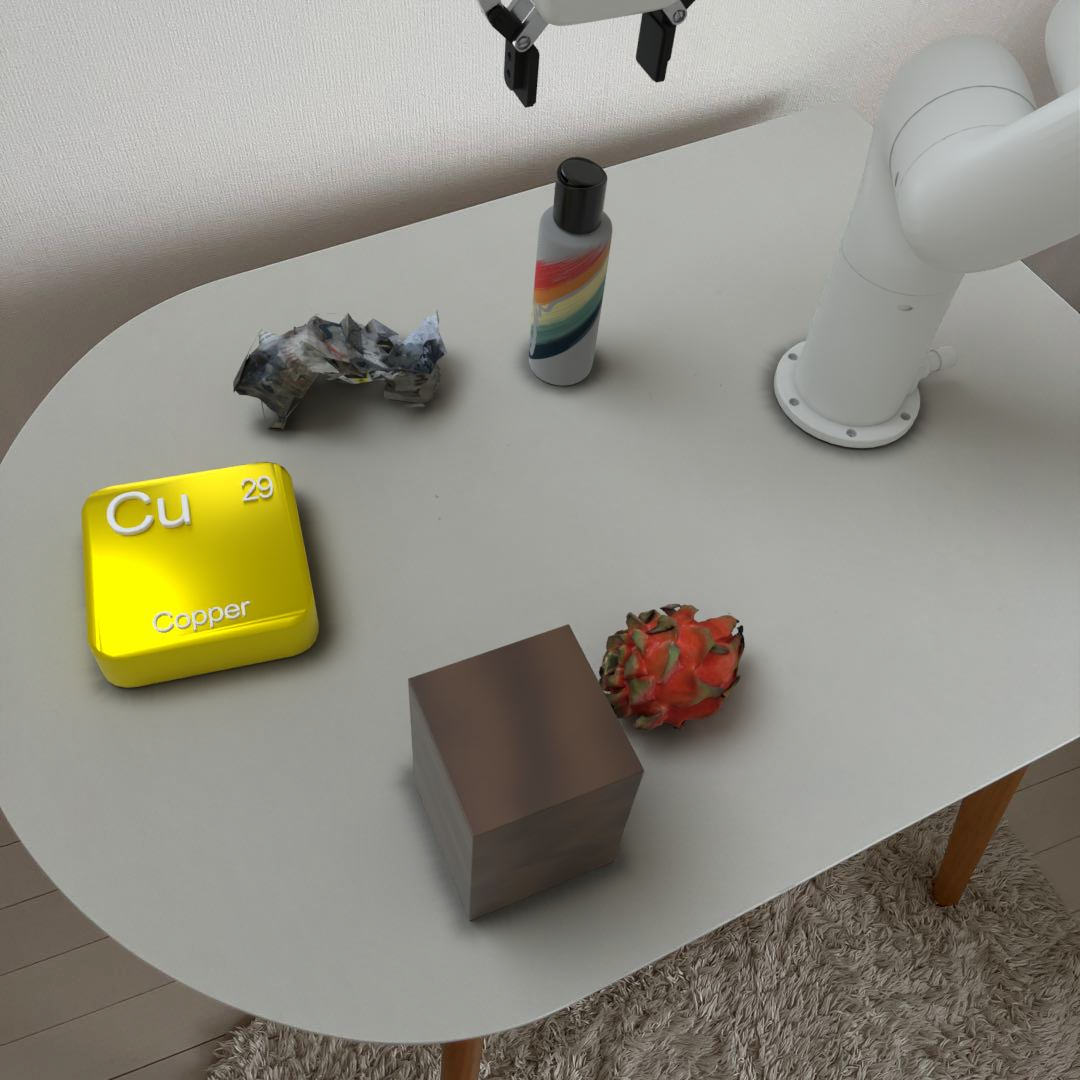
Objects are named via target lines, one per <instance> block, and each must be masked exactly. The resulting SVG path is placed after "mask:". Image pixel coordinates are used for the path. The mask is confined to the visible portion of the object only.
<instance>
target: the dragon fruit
mask: <svg viewBox="0 0 1080 1080" xmlns="http://www.w3.org/2000/svg"><path fill="white" fill-rule="evenodd" d="M676 608H677V609H676ZM659 609H660V610H661V611H662V612H664V613H665V614H661V613H660V612H659V611H657V609H650V610H648V611H641V612H640V613H639V614H638V616H637V615H635V613H633V612H631V611H629V612H627V614H626V616H625V618H626V619H625V624H626V626H627V629H625V630H624V629H620V630H617V631H615V632H614V633H613V634H612V635H608V637H607V639H606V644H605V650H606V651H605V653H604V654H603V657H602V663H601V666H600V667H599V670H598V673H599V674H598V675H599V677H600V678H599V679H598V681H599V683H600V685H601V687H602V689H603V691H604V693H605V695H606V697H607V699H608V701H609V703H610V705H611V707H612V709H613V710H614V712H615V714H616V716H617V718H618V719H622V720H623V719H629V718H632V717H633V716H634V715H636V716H638V717H637V719H635V720H634V721H633V722H632V724H633V727H634V729H636V730H639V731H645V732H649V731H651V730H653V729H654V728H656V727H659V726H662V725H663V723H665V724H669V725H672V728H673V729H674V730H678V731H682V730H683V729H684V728H685V727H686V723H687V720H703V719H705V718H709V717H711V716H713V715H714V714H716V713H717V712H718V711H720V709H721V708H722V707H723V706H724V704H725V701H726V700H727V699H728V697H729V695H730V694H731V693H732V691H733V689H734V688H735V687H736V686H737V685H738V684H739V681H740V680H741V675H738V672H739V665H740V661H741V659H742V656H743V654H744V651H745V648H746V646H745V645H746V643H745V636H744V634H743V633H744V626H743V624H741V625H739V626H737V624H739V623H740V620H739V619H737V618H736V617H734V616H733V615H732V613H730V612H729V611H726V613H728V614H725V615H721V616H718V617H711V618H708V619H706V620H701V621H697V620H696V619H695V615H696V614H697V613H698V612H699V611H700V609H699V608H697V607H696V606H694V605H692V604H682V605H681V604H680V603H668V604H667V605H664V606H661V607H659ZM723 612H724V611H723ZM734 629H737V633H736V634H733V631H734ZM609 692H610V693H609Z"/></svg>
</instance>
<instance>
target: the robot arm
mask: <svg viewBox="0 0 1080 1080" xmlns="http://www.w3.org/2000/svg"><path fill="white" fill-rule="evenodd" d="M475 1H476V3H477V5H478V6H479V8H480V11H481V13H482V15H483V16H484V17H485V19H486V20H487V21H488V23H489V25H491V27H492V28H493V29H494V30H495V31H497V32H498V33H499V34H500V35H501V36H502V37H503V38H504V42H505V43H504V59H503V79H504V83H505V85H506V87H507V88H508V90H510V91H511V92H513V93H514V95H515V96H516V97H517V99H518V100H519V102H520V103H521V105H522V106H523V107H524V109H525V108H531V107H534V105H535V104H536V103H537V97H538V96H537V95H538V83H539V69H540V51H539V49H538V47H536V45H535V42H536V41H537V40H538V38H539V37H540V36H541V35H542V33H543V32H544V31H545V30H546V28H547V27H548V26H549V25H552V26H557V27H565V26H567V27H568V26H574V25H575V26H576V25H581V24H588V23H594V22H599V21H606V20H612V19H617V18H624V17H630V16H634V15H641V20H640V25H639V31H638V37H637V38H638V40H637V46H636V52H635V60H636V63H637V64H638V66H640V67H641V69H642V70H643V71H644V72H645V73H646V74H647V75H648V77H649V78H650V79H651V80H652V82H655V84H656V83H661V82H664V81H665V80H666V76H667V75H666V74H667V70H668V64H669V61H670V60H671V58H672V53H673V47H674V43H675V37H676V31H677V27H678V26H679V25H681V24H682V23H684V21H685V20H686V19H687V17H688V9H689V8H690V7H691V6H692V5H693V4H694V2H696V0H511V1H510V3H509V5H507V7H506V6H505V5H504V3H502V0H475ZM1044 32H1045V33H1044V49H1045V57H1046V61H1047V65H1048V68H1049V72H1050V75H1051V79H1052V81H1053V84H1054V88H1055V91H1056V94H1057V98H1056V99H1054V100H1052V101H1050V102H1049V103H1046V104H1045V105H1043V106H1041V107H1040V108H1038V106H1037V103H1036V100H1035V97H1034V94H1033V91H1032V88H1031V85H1030V82H1029V80H1028V77H1027V75H1026V74H1025V71H1024V69H1023V68H1022V67H1021V65H1020V64H1019V62H1018V60H1017V59H1016V58H1015V56H1013V54H1012V53H1011V52H1010V51H1009V50H1008V49H1006V48H1005V47H1004V46H1003V45H1002V44H1000V43H998V42H997V41H995V40H992V39H990V38H988V37H985V36H982V35H978V34H977V35H976V34H964V33H961V34H960V33H959V34H951V35H948V36H944V37H941V38H939V39H936V40H933V41H932V42H931V41H930V42H929V43H928V44H926V45H924V46H922V47H921V48H920V49H918V50H917V51H916V52H915V53H913V54H912V55H911V56H910V57H908V59H906V61H904V62H903V64H902V65H901V66H900V67H899V69H898V70H897V71H896V72H895V74H894V75H893V77H892V79H891V80H890V82H889V84H888V86H887V88H886V90H885V92H884V94H883V96H882V98H881V101H880V104H879V107H878V110H877V114H876V117H875V121H874V124H873V129H872V132H871V137H870V142H869V147H868V150H867V155H866V160H865V164H864V168H863V172H862V176H861V180H860V182H859V187H858V190H857V194H856V197H855V200H854V203H853V205H852V206H853V207H852V209H851V212H850V214H849V218H848V221H847V224H846V227H845V229H844V231H843V235H842V238H841V240H840V243H839V246H838V249H837V252H836V254H835V257H834V260H833V262H832V266H831V269H830V272H829V274H828V277H827V280H826V283H825V286H824V289H823V291H822V294H821V297H820V300H819V301H818V302H819V303H818V304H817V308H816V311H815V314H814V317H813V319H812V322H811V325H810V328H809V331H808V334H807V336H806V339H805V340H803V341H801V342H800V341H799V342H798V343H796V344H795V345H793V346H792V347H790V348H789V349H788V350H787V351H786V352H785V353H784V354H783V355H782V357H781V358H780V360H779V362H778V363H777V367H776V369H775V372H774V377H773V388H774V389H773V391H774V396H775V398H776V399H777V402H778V405H779V406H780V407H781V409H782V412H784V414H785V415H786V416H787V417H788V418H789V419H790V420H791V421H792V423H793V424H795V425H796V426H797V427H799V428H800V429H802V430H803V431H804V432H806V433H808V434H809V435H811V436H813V437H814V438H817V439H819V440H821V441H824V442H826V443H830V444H832V445H836V446H841V447H844V448H852V449H853V448H854V449H865V448H866V449H868V448H869V449H870V448H877V447H881V446H885V445H888V444H890V443H893V442H896V441H897V440H898V439H900V438H902V437H903V436H904V435H906V434H907V432H908V431H909V430H910V429H911V427H912V426H913V424H914V423H915V421H916V419H917V417H918V414H919V411H920V408H921V393H920V390H919V387H918V385H919V382H920V380H924V379H926V378H928V376H929V375H930V373H932V372H939V371H943V370H946V369H950V368H953V367H954V366H957V363H958V360H959V359H958V357H959V356H958V353H957V350H956V349H955V347H954V346H952V345H949V344H948V345H944V346H941V347H937V348H934V349H930V347H931V345H932V343H933V340H934V338H935V336H936V334H937V333H938V330H939V328H940V326H941V324H942V322H943V320H944V318H945V315H946V314H947V312H948V309H949V307H950V306H951V303H952V300H953V299H954V297H955V295H956V293H957V292H958V291H957V290H958V288H959V287H960V284H961V283H962V280H963V279H964V277H965V275H966V274H975V273H982V272H986V271H991V270H995V269H998V268H1002V267H1005V266H1008V265H1011V264H1013V263H1016V262H1018V261H1022V260H1023V259H1026V258H1028V257H1031V256H1033V255H1035V254H1038V253H1040V252H1043V251H1045V250H1047V249H1049V248H1052V247H1054V246H1056V245H1058V244H1060V243H1063V242H1065V241H1068V240H1070V239H1071V238H1074V237H1076V236H1078V235H1080V0H1058V1H1057V2H1056V3H1055V5H1054V6H1053V8H1052V10H1051V13H1050V15H1049V17H1048V19H1047V23H1046V26H1045V31H1044Z"/></svg>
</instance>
